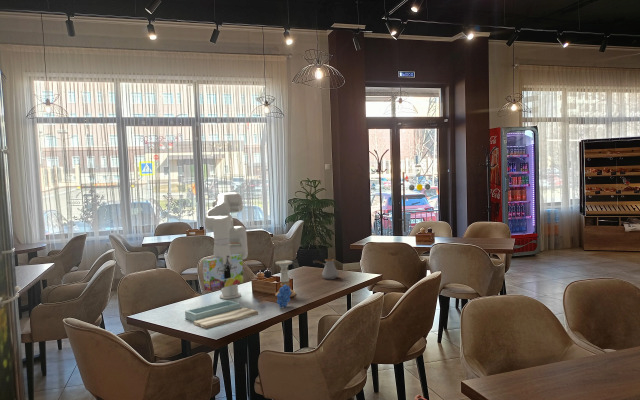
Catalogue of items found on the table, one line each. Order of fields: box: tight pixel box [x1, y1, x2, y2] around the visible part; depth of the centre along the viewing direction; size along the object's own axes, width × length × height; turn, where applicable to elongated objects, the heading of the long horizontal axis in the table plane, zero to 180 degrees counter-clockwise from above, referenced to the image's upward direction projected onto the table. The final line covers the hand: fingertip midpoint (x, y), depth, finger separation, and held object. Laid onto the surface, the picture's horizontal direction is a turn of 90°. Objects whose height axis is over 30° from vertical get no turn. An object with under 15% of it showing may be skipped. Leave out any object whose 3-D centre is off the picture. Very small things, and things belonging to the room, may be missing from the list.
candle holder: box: [274, 259, 297, 298], centre depth 276 cm, size 12×12×20 cm
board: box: [193, 307, 259, 329], centre depth 233 cm, size 12×30×2 cm, turn 133°
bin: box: [184, 299, 241, 323], centre depth 242 cm, size 11×26×4 cm, turn 133°
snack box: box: [202, 254, 244, 292], centre depth 232 cm, size 21×6×15 cm, turn 141°
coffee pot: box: [313, 258, 339, 280], centre depth 314 cm, size 21×12×15 cm, turn 137°
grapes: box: [276, 284, 292, 309], centre depth 250 cm, size 12×7×12 cm, turn 146°
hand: (224, 277), depth 232 cm, fingers closed on snack box, 6 cm apart
